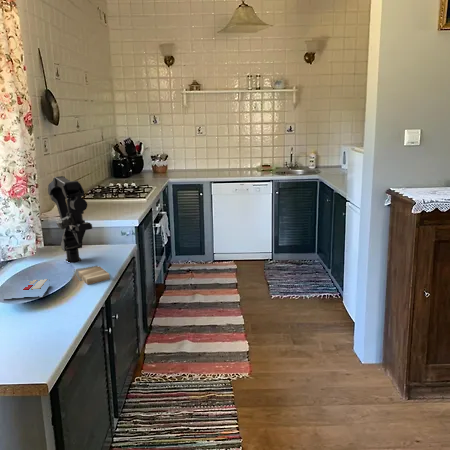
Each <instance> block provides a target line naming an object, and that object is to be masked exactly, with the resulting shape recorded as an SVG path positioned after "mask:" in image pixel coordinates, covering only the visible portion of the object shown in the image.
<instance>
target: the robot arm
mask: <svg viewBox="0 0 450 450" xmlns="http://www.w3.org/2000/svg"><path fill="white" fill-rule="evenodd" d="M47 186H48V187H47V193H48V196H50V200H51V201H52V202H53V203H54V204H56V205H55V206H56V208H57V211H58V215H59V218H60V219H59V220H58V221H56V225H57V227H58V229H60V230H63V233H62V237H61V238H62V239H61V243H60V247H61V250H62V251H63V252H65V255H66V258H65V261H68V262H70V263H69V264H71V263H78V262H81V261H82V258H81V257H80V252H79V249H82V248H83V239H84V236H85V233H86V231H88V230H93V224H92V223H91V222H88V221H86V220H85V219H84V218H83V214H85V213H84V211H86V210H87V208H88V203H87V200H85V199H84V198H82V197H85V191H84V189H83V186H82V184H81V183H80V182H79V180H70V179H68V178H66V176H63V175H62V176H54V177H53V179H52V180H51V182H49V183H48V185H47Z"/></svg>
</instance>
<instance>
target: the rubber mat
mask: <svg viewBox="0 0 450 450" xmlns="http://www.w3.org/2000/svg"><path fill="white" fill-rule="evenodd" d="M94 267H99V266H98V265H93V266H88V267H82V268H77V269H76V273H75V275H76V277H77V279H78V281H79V282H84V281H83V280H82V279H81V278H80V277H79V275H78V271H81V270H85V269H90V268H94Z"/></svg>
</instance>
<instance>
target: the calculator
mask: <svg viewBox="0 0 450 450" xmlns="http://www.w3.org/2000/svg"><path fill="white" fill-rule="evenodd" d="M32 280H33V281H30V282H29V283H30V284H34V283H35V282H36V281H38V279H32ZM39 280H40V281H38V282H37V283H36V284H35V286H33V285H28V287H25V288H24V289H23V290H29V289H30V288H31V287H32V286H33V287H32V288H31V290H33V289H41V287H42V286H43V285H44V283H45V282H46V281H47V280H48V278H44V280H43V279H39Z"/></svg>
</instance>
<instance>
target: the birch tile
mask: <svg viewBox="0 0 450 450" xmlns="http://www.w3.org/2000/svg"><path fill="white" fill-rule="evenodd" d="M78 275H79V277H80V278H81V279H82V280H83V281H82V282H84V283H85V284H87V286H88V285H91V284H95V283H100V282H104V281H108V280H110V279H111V278H110V273H109V272H108V271H106V269H104V268H102V267H101V266H98V267H94V268H90V269H85V270H81V271H78Z"/></svg>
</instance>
